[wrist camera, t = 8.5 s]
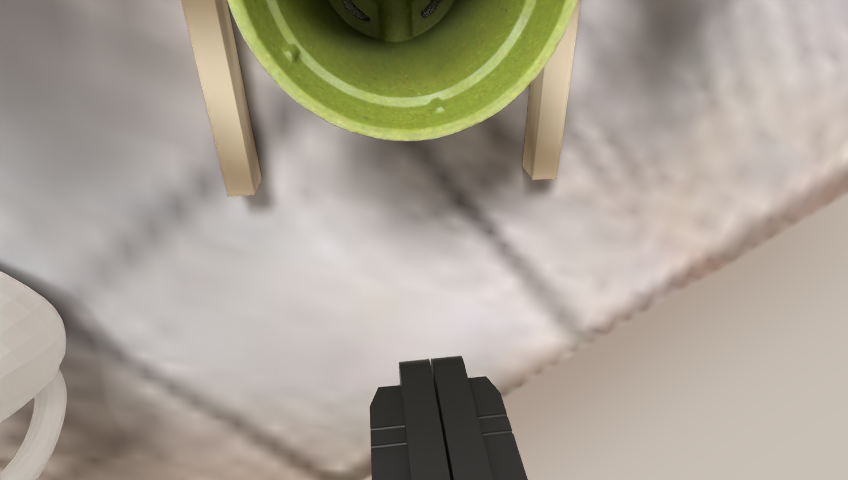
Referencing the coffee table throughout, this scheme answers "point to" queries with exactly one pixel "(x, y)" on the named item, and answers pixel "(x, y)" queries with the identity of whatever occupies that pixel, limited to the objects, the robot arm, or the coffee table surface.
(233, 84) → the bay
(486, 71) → the plant pot
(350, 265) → the coffee table surface
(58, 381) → the cat figurine
